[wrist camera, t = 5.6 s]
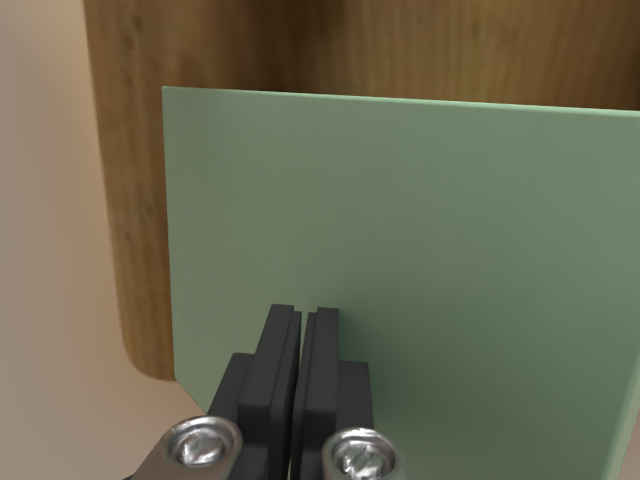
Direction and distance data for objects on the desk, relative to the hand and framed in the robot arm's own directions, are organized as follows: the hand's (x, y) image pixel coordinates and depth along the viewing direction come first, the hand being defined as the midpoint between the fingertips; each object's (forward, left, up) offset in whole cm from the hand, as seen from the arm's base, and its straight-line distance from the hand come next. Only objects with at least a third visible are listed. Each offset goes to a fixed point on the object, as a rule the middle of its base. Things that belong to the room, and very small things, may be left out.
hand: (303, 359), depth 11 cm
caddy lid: (0, 0, -2) cm, 2 cm away
